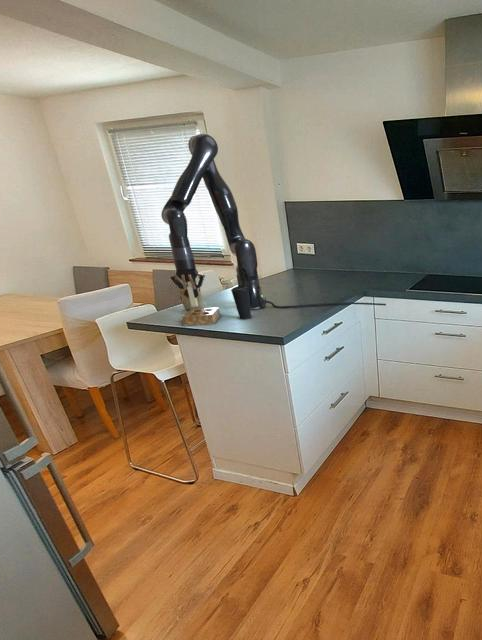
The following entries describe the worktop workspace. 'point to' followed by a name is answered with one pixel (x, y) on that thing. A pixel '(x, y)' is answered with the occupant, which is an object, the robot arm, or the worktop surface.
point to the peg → (192, 297)
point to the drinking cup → (242, 300)
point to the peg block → (201, 316)
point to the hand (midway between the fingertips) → (192, 297)
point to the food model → (186, 300)
